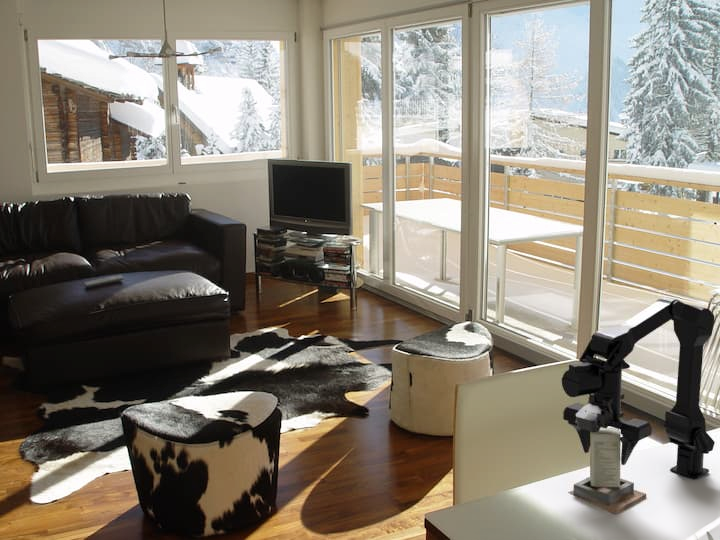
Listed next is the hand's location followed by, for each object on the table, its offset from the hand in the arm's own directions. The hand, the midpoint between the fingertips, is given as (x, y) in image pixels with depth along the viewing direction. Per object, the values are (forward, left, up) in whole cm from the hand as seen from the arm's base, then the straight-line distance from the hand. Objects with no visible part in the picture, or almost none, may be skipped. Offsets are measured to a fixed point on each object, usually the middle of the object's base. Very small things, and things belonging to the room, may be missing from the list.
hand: (604, 458), depth 179 cm
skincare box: (0, 0, -6) cm, 6 cm away
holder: (0, +1, -9) cm, 9 cm away
